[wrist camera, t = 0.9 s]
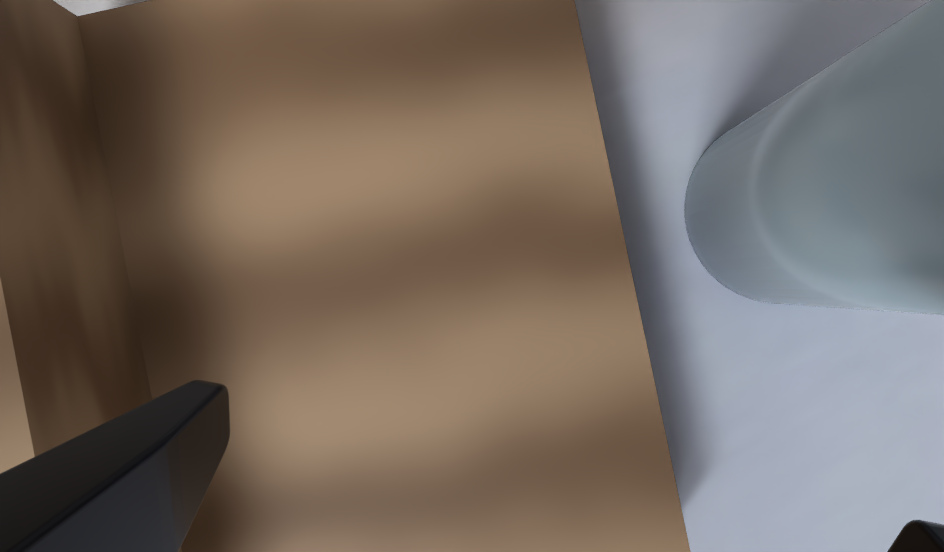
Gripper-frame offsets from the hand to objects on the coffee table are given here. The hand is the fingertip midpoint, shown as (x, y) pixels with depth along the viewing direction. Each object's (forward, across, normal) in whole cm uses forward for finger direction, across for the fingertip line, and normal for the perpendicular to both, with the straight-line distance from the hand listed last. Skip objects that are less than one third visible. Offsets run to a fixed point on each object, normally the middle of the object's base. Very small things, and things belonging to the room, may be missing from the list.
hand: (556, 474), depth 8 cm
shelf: (+12, +5, +5) cm, 14 cm away
